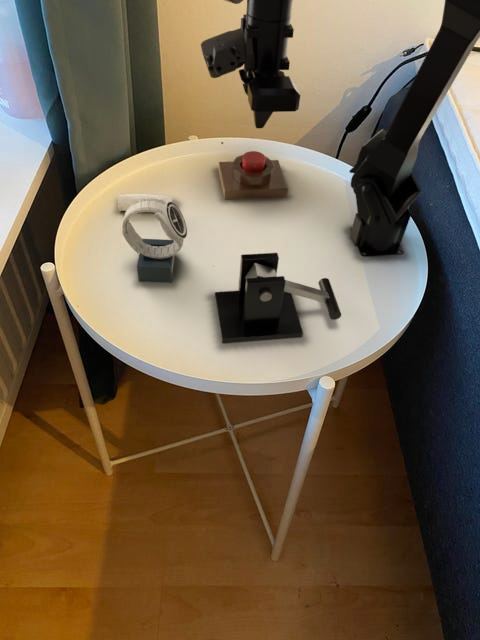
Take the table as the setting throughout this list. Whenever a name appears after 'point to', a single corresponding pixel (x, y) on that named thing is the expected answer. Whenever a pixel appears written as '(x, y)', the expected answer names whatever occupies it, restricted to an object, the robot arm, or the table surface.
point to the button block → (252, 180)
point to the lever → (302, 289)
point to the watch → (156, 252)
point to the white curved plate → (136, 199)
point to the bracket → (257, 306)
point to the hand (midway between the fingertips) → (259, 127)
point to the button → (253, 162)
